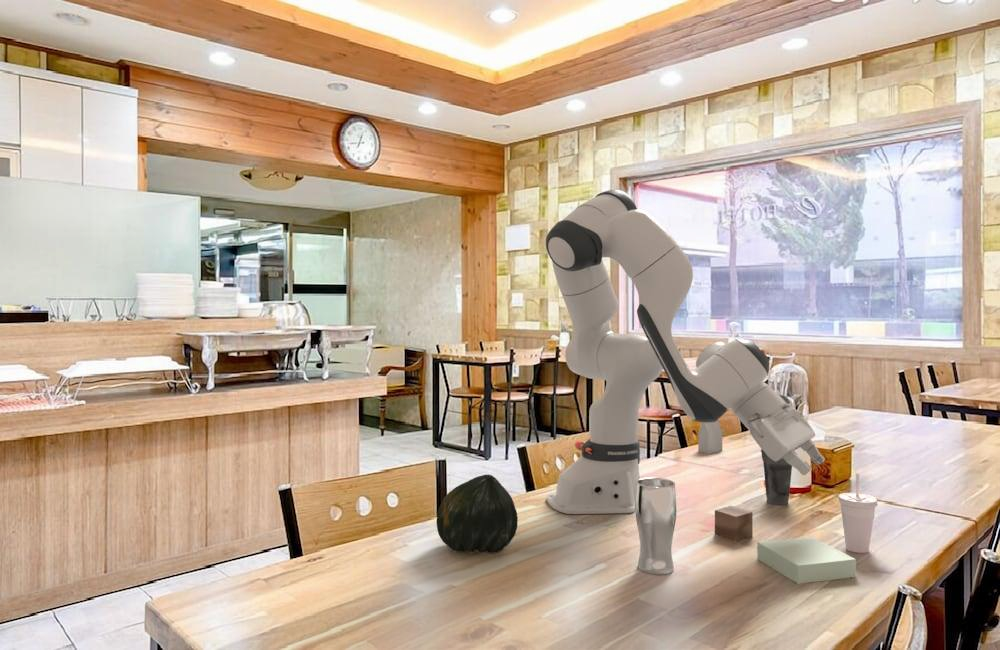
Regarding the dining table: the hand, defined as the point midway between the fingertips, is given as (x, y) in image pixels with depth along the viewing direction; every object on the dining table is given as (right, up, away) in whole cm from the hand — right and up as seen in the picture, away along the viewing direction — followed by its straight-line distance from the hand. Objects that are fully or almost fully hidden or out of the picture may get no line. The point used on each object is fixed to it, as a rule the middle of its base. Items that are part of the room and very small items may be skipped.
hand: (815, 467), depth 125 cm
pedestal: (-7, -15, -11) cm, 20 cm away
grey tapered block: (+5, -12, +79) cm, 80 cm away
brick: (-14, -14, +5) cm, 21 cm away
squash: (-64, -15, -1) cm, 66 cm away
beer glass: (-33, -15, -11) cm, 38 cm away
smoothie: (+6, -15, -3) cm, 16 cm away
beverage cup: (+4, -14, +26) cm, 30 cm away
